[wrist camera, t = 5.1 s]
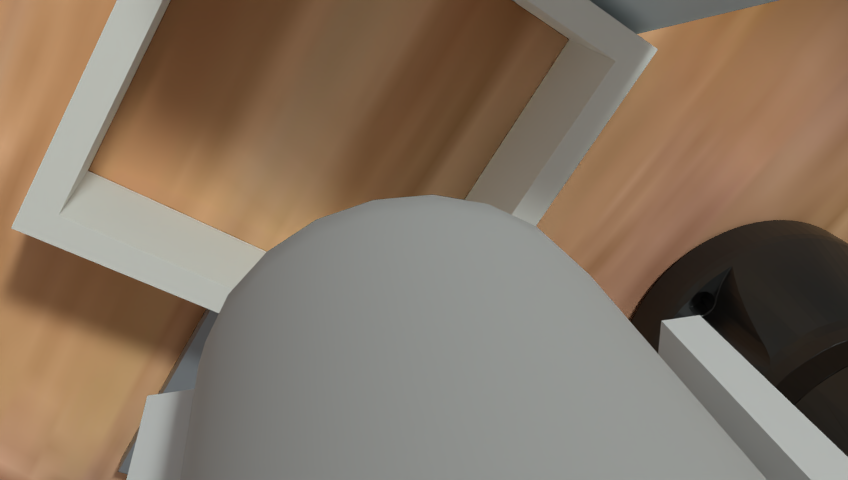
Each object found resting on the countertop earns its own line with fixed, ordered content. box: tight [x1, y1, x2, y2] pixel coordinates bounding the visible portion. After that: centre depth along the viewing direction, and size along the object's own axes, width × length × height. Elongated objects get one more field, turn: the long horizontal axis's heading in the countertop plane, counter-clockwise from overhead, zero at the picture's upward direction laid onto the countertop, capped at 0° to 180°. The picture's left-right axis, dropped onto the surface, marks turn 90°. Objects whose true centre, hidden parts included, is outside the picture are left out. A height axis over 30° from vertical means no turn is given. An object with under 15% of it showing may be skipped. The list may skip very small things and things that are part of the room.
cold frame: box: [11, 0, 778, 313], centre depth 25 cm, size 23×18×16 cm
